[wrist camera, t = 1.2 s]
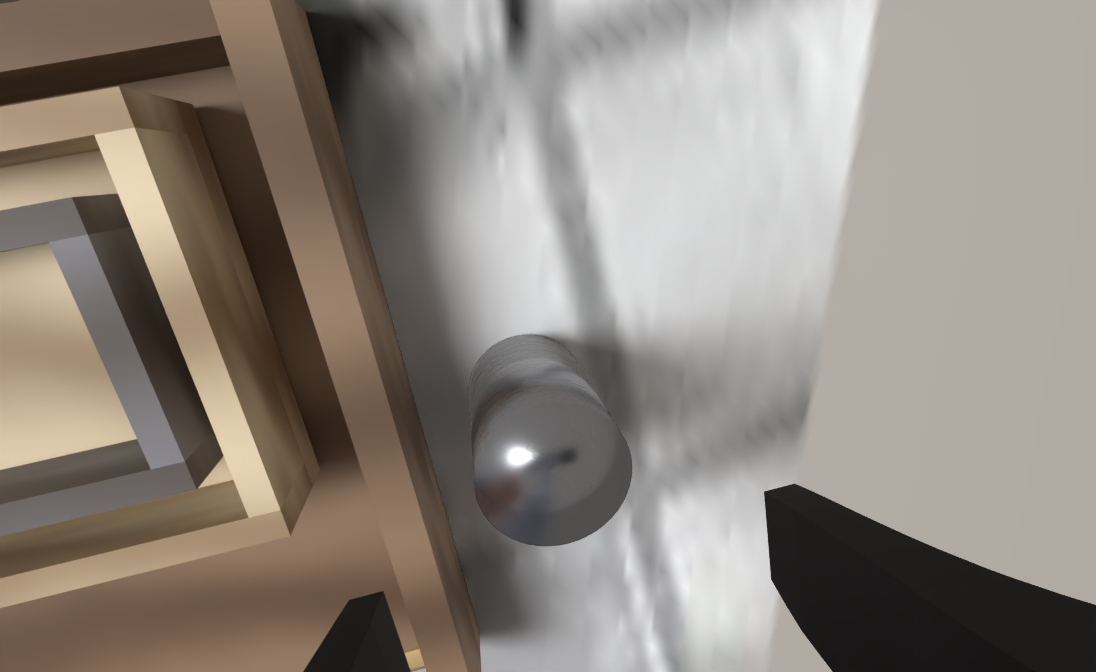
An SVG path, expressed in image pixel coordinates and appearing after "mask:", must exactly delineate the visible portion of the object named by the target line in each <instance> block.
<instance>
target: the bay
mask: <svg viewBox="0 0 1096 672" xmlns="http://www.w3.org/2000/svg"><path fill="white" fill-rule="evenodd" d="M118 86H119V87H123V88H127V89H132V90H136V91H140V92H144V93H148V94H152V95H157V96H161V97H165V98H169V99H173V100H178V101H182V102H186V103H190V104H193V106H194V109H195V112H196V115H197V118H198V121H199V123H200V126H201V129H202V132H203V135H204V138H205V141H206V144H207V146H208V149H209V152H210V155H211V158H212V161H213V164H214V167H215V169H216V172H217V175H218V178H219V181H220V184H221V187H222V189H223V192H224V195H225V198H226V201H227V204H228V207H229V210H230V212H231V215H232V218H233V221H234V224H235V227H236V230H237V233H238V235H239V238H240V241H241V244H242V247H243V250H244V253H245V255H246V258H247V261H248V264H249V267H250V270H251V273H252V276H253V278H254V281H255V284H256V287H257V290H258V293H259V296H260V299H261V301H262V304H263V307H264V310H265V313H266V316H267V319H268V321H269V324H270V327H271V330H272V333H273V336H274V339H275V342H276V344H277V347H278V350H279V353H280V356H281V359H282V362H283V365H284V367H285V370H286V373H287V376H288V379H289V382H290V385H291V387H292V390H293V393H294V396H295V399H296V402H297V405H298V408H299V410H300V413H301V416H302V419H303V422H304V425H305V428H306V431H307V433H308V436H309V439H310V442H311V445H312V448H313V451H314V453H315V456H316V459H317V462H318V465H319V468H320V471H319V473H318V475H317V478H316V480H315V482H314V484H313V487H312V489H311V491H310V493H309V496H308V498H307V500H306V502H305V504H304V507H303V509H302V511H301V513H300V516H299V518H298V520H297V522H296V525H295V527H294V529H293V531H292V534H291V536H289V537H285V538H280V539H276V540H272V541H268V542H264V543H260V544H256V545H252V546H248V547H244V548H240V549H236V550H232V551H228V552H224V553H220V554H216V555H212V556H208V557H204V558H200V559H196V560H192V561H188V562H184V563H180V564H176V565H172V566H168V567H164V568H160V569H156V570H152V571H148V572H143V573H139V574H135V575H131V576H127V577H123V578H119V579H115V580H111V581H107V582H103V583H99V584H95V585H91V586H87V587H83V588H79V589H75V590H71V591H67V592H63V593H59V594H55V595H51V596H47V597H43V598H39V599H35V600H31V601H27V602H23V603H19V604H15V605H11V606H6V607H2V608H0V672H303V671H304V669H305V668H306V666H307V665H308V663H309V662H310V660H311V658H312V657H313V655H314V654H315V652H316V651H317V649H318V647H319V646H320V644H321V643H322V641H323V640H324V638H325V636H326V635H327V633H328V632H329V630H330V628H331V627H332V625H333V624H334V622H335V621H336V619H337V617H338V616H339V614H340V613H341V611H342V610H343V608H344V607H345V605H346V604H347V602H348V601H349V600H350V599H354V598H358V597H362V596H366V595H370V594H373V593H377V592H381V591H384V594H385V597H386V600H387V603H388V606H389V609H390V612H391V615H392V618H393V621H394V624H395V627H396V629H397V632H398V635H399V638H400V641H401V644H402V647H403V650H404V653H405V656H406V659H407V662H408V665H409V668H410V671H411V672H412V671H416V670H419V669H423V668H426V671H427V672H481V658H480V638H479V630H478V626H477V623H476V619H475V616H474V612H473V609H472V605H471V601H470V598H469V594H468V591H467V587H466V584H465V580H464V576H463V573H462V569H461V566H460V562H459V559H458V555H457V551H456V548H455V544H454V541H453V537H452V534H451V530H450V526H449V523H448V519H447V516H446V512H445V509H444V505H443V502H442V498H441V494H440V491H439V487H438V484H437V480H436V477H435V473H434V469H433V466H432V462H431V459H430V455H429V452H428V448H427V444H426V441H425V437H424V434H423V430H422V427H421V423H420V419H419V416H418V412H417V409H416V405H415V402H414V398H413V394H412V391H411V387H410V384H409V380H408V377H407V373H406V369H405V366H404V362H403V359H402V355H401V352H400V348H399V344H398V341H397V337H396V334H395V330H394V327H393V323H392V319H391V316H390V312H389V309H388V305H387V302H386V298H385V294H384V291H383V287H382V284H381V280H380V277H379V273H378V270H377V266H376V262H375V259H374V255H373V252H372V248H371V245H370V241H369V237H368V234H367V230H366V227H365V223H364V220H363V216H362V212H361V209H360V205H359V202H358V198H357V195H356V191H355V187H354V184H353V180H352V177H351V173H350V170H349V166H348V162H347V159H346V155H345V152H344V148H343V145H342V141H341V137H340V134H339V130H338V127H337V123H336V120H335V116H334V112H333V109H332V105H331V102H330V98H329V95H328V91H327V87H326V84H325V80H324V77H323V73H322V70H321V66H320V62H319V59H318V55H317V52H316V48H315V45H314V41H313V37H312V34H311V30H310V27H309V23H308V20H307V16H306V13H305V11H304V10H303V9H302V8H301V7H300V6H299V5H298V3H297V2H296V1H295V0H22V1H16V2H9V3H3V4H0V107H3V106H8V105H14V104H20V103H26V102H32V101H37V100H43V99H49V98H55V97H60V96H66V95H72V94H78V93H84V92H89V91H95V90H101V89H107V88H112V87H118Z"/></svg>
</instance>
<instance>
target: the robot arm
mask: <svg viewBox="0 0 1096 672" xmlns="http://www.w3.org/2000/svg"><path fill="white" fill-rule="evenodd" d="M764 495H765V508H766V520H767V532H768V545H769V557H770V570H771V580H772V582H773V583H774V585H775V587H776V589H777V590H778V592H779V594H780V595H781V597H782V599H783V601H784V602H785V604H786V606H787V608H788V609H789V610H790V612H791V614H792V616H793V617H794V619H795V621H796V622H797V624H798V625H799V627H800V629H801V630H802V632H803V633H804V634H805V636H806V637H807V638H808V640H809V641H810V642H811V644H812V645H813V646H814V648H815V649H816V650H817V652H818V653H819V654H820V656H821V657H822V658H823V659H824V661H825V662H826V663H827V665H828V666H829V667H830V669H831V670H832V671H833V672H1096V605H1094V604H1091V603H1087V602H1084V601H1080V600H1077V599H1074V598H1071V597H1068V596H1065V595H1061V594H1058V593H1055V592H1052V591H1049V590H1046V589H1043V588H1041V587H1038V586H1035V585H1032V584H1029V583H1026V582H1023V581H1020V580H1017V579H1014V578H1011V577H1008V576H1005V575H1003V574H1000V573H997V572H995V571H992V570H989V569H986V568H984V567H981V566H979V565H976V564H974V563H971V562H969V561H967V560H964V559H962V558H959V557H956V556H954V555H952V554H949V553H947V552H944V551H942V550H939V549H937V548H935V547H932V546H930V545H928V544H925V543H923V542H920V541H918V540H916V539H914V538H911V537H909V536H907V535H904V534H902V533H900V532H898V531H896V530H894V529H891V528H889V527H887V526H885V525H883V524H880V523H878V522H876V521H874V520H872V519H870V518H867V517H865V516H863V515H861V514H859V513H857V512H855V511H853V510H851V509H848V508H846V507H844V506H842V505H840V504H838V503H836V502H833V501H831V500H829V499H827V498H825V497H823V496H821V495H819V494H817V493H815V492H812V491H810V490H808V489H806V488H803V487H801V486H799V485H796V484H792V485H788V486H784V487H780V488H777V489H773V490H769V491H765V492H764ZM303 672H411V671H410V668H409V665H408V662H407V659H406V656H405V653H404V650H403V647H402V644H401V641H400V638H399V635H398V632H397V629H396V627H395V624H394V621H393V618H392V615H391V612H390V609H389V606H388V603H387V600H386V597H385V594H384V591H381V592H377V593H373V594H370V595H366V596H362V597H358V598H354V599H350V600H349V601H348V602H347V604H346V605H345V607H344V608H343V610H342V611H341V613H340V614H339V616H338V617H337V619H336V621H335V622H334V624H333V625H332V627H331V628H330V630H329V632H328V633H327V635H326V636H325V638H324V640H323V641H322V643H321V644H320V646H319V647H318V649H317V651H316V652H315V654H314V655H313V657H312V658H311V660H310V662H309V663H308V665H307V666H306V668H305V669H304V671H303Z"/></svg>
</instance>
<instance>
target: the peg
mask: <svg viewBox="0 0 1096 672" xmlns="http://www.w3.org/2000/svg"><path fill="white" fill-rule="evenodd" d="M469 405H470V421H471V437H472V453H473V469H474V485H475V492H476V497H477V500H478V503H479V506H480V508H481V510H482V512H483V514H484V515H485V516H486V518H487V519H488V521H489V522H490V523H491V524H492V525H493V526H494V527H495V528H496V529H497V530H499V531H500V532H501V533H503V534H504V535H506V536H508V537H510V538H511V539H514V540H516V541H519V542H522V543H525V544H529V545H536V546H557V545H563V544H568V543H571V542H574V541H577V540H580V539H582V538H584V537H587V536H588V535H590V534H592V533H594V532H595V531H597V530H598V529H599V528H601V527H602V526H603V525H605V524H606V523H607V522H608V521H609V520H610V519H611V518H612V517H613V516H614V514H615V513H616V512H617V511H618V509H619V508H620V506H621V505H622V503H623V501H624V499H625V497H626V495H627V492H628V489H629V487H630V482H631V477H632V459H631V454H630V450H629V447H628V445H627V442H626V440H625V438H624V437H623V435H622V433H621V432H620V430H619V428H618V427H617V425H616V424H615V422H614V420H613V419H612V417H611V416H610V414H609V412H608V411H607V409H606V408H605V406H604V404H603V403H602V401H601V400H600V398H599V396H598V395H597V393H596V392H595V390H594V388H593V387H592V385H591V384H590V382H589V380H588V379H587V377H586V376H585V374H584V373H583V371H582V369H581V368H580V366H579V365H578V363H577V361H576V360H575V358H574V357H573V356H572V354H571V353H570V352H569V351H568V350H567V349H566V348H565V347H564V346H562V345H561V344H560V343H558V342H556V341H554V340H552V339H550V338H547V337H543V336H539V335H518V336H514V337H510V338H507V339H505V340H502V341H500V342H499V343H497V344H495V345H494V346H492V347H491V348H490V349H488V350H487V351H486V352H485V353H484V354H483V355H482V357H481V358H480V359H479V361H478V362H477V364H476V365H475V367H474V369H473V372H472V374H471V378H470V382H469Z"/></svg>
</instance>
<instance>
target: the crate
mask: <svg viewBox="0 0 1096 672" xmlns="http://www.w3.org/2000/svg"><path fill="white" fill-rule="evenodd" d="M319 471H320V468H319V465H318V462H317V459H316V456H315V453H314V451H313V448H312V445H311V442H310V439H309V436H308V433H307V431H306V428H305V425H304V422H303V419H302V416H301V413H300V410H299V408H298V405H297V402H296V399H295V396H294V393H293V390H292V387H291V385H290V382H289V379H288V376H287V373H286V370H285V367H284V365H283V362H282V359H281V356H280V353H279V350H278V347H277V344H276V342H275V339H274V336H273V333H272V330H271V327H270V324H269V321H268V319H267V316H266V313H265V310H264V307H263V304H262V301H261V299H260V296H259V293H258V290H257V287H256V284H255V281H254V278H253V276H252V273H251V270H250V267H249V264H248V261H247V258H246V255H245V253H244V250H243V247H242V244H241V241H240V238H239V235H238V233H237V230H236V227H235V224H234V221H233V218H232V215H231V212H230V210H229V207H228V204H227V201H226V198H225V195H224V192H223V189H222V187H221V184H220V181H219V178H218V175H217V172H216V169H215V167H214V164H213V161H212V158H211V155H210V152H209V149H208V146H207V144H206V141H205V138H204V135H203V132H202V129H201V126H200V123H199V121H198V118H197V115H196V112H195V109H194V106H193V104H190V103H186V102H182V101H178V100H173V99H169V98H165V97H161V96H157V95H152V94H148V93H144V92H140V91H136V90H132V89H127V88H123V87H119V86H118V87H112V88H107V89H101V90H95V91H89V92H84V93H78V94H72V95H66V96H60V97H55V98H49V99H43V100H37V101H32V102H26V103H20V104H14V105H8V106H3V107H0V608H2V607H6V606H11V605H15V604H19V603H23V602H27V601H31V600H35V599H39V598H43V597H47V596H51V595H55V594H59V593H63V592H67V591H71V590H75V589H79V588H83V587H87V586H91V585H95V584H99V583H103V582H107V581H111V580H115V579H119V578H123V577H127V576H131V575H135V574H139V573H143V572H148V571H152V570H156V569H160V568H164V567H168V566H172V565H176V564H180V563H184V562H188V561H192V560H196V559H200V558H204V557H208V556H212V555H216V554H220V553H224V552H228V551H232V550H236V549H240V548H244V547H248V546H252V545H256V544H260V543H264V542H268V541H272V540H276V539H280V538H285V537H289V536H291V534H292V531H293V529H294V527H295V525H296V522H297V520H298V518H299V516H300V513H301V511H302V509H303V507H304V504H305V502H306V500H307V498H308V496H309V493H310V491H311V489H312V487H313V484H314V482H315V480H316V478H317V475H318V473H319Z"/></svg>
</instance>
